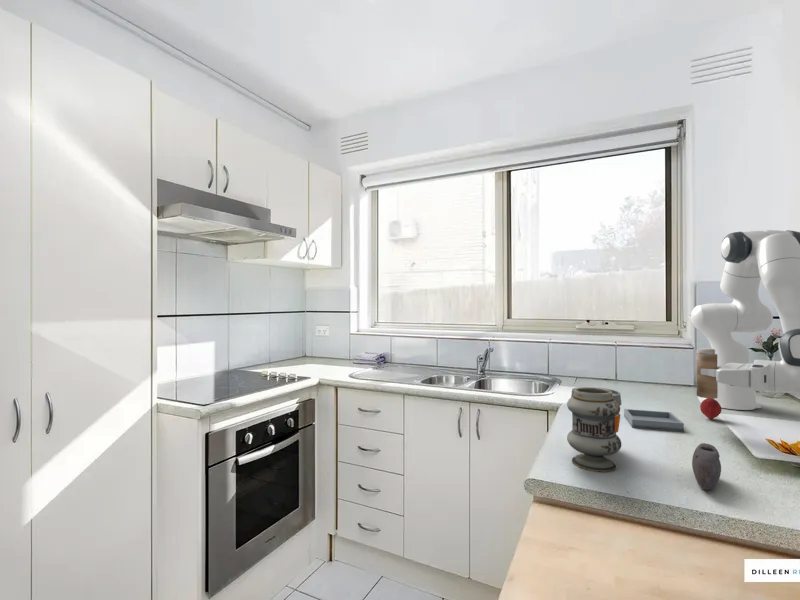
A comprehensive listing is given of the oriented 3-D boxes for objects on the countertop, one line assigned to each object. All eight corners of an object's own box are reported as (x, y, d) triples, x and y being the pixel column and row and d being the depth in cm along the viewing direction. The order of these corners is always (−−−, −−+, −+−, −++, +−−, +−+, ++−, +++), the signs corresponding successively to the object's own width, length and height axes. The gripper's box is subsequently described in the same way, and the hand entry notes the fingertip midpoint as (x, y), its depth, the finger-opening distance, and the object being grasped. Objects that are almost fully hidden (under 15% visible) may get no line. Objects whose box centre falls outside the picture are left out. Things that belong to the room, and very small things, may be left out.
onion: (725, 422, 140) (725, 397, 140) (705, 421, 141) (705, 397, 141) (715, 417, 146) (715, 394, 146) (696, 416, 147) (696, 393, 147)
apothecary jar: (575, 451, 112) (575, 383, 112) (626, 462, 104) (626, 389, 104) (560, 465, 103) (559, 390, 103) (614, 478, 95) (614, 397, 95)
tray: (624, 416, 147) (624, 408, 147) (670, 419, 143) (670, 412, 143) (632, 427, 134) (632, 419, 134) (683, 431, 129) (683, 423, 129)
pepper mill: (694, 394, 134) (694, 347, 134) (713, 395, 132) (713, 348, 132) (700, 397, 129) (699, 349, 129) (720, 399, 127) (720, 350, 127)
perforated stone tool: (720, 499, 85) (720, 464, 85) (688, 491, 88) (688, 458, 88) (721, 475, 97) (721, 444, 97) (693, 469, 100) (693, 440, 100)
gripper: (766, 360, 128) (710, 356, 138) (757, 368, 114) (695, 363, 124) (766, 381, 128) (710, 375, 138) (757, 392, 114) (696, 384, 124)
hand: (703, 369), depth 131 cm, fingers closed on pepper mill, 5 cm apart
